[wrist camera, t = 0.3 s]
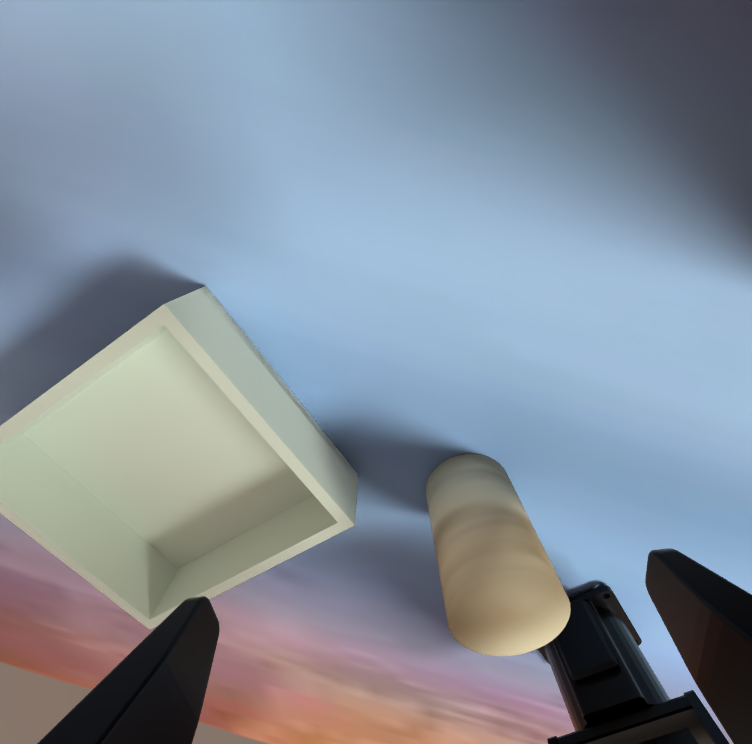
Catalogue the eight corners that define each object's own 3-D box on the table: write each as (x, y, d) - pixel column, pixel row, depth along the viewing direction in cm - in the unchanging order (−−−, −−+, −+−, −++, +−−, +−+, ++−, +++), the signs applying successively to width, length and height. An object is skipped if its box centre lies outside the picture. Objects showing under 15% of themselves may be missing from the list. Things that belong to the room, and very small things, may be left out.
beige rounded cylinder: (523, 498, 24) (589, 628, 16) (450, 533, 25) (482, 670, 17) (485, 439, 22) (539, 553, 15) (410, 478, 23) (425, 603, 16)
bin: (358, 474, 23) (355, 525, 19) (182, 570, 26) (149, 629, 22) (206, 285, 19) (163, 303, 15) (16, 425, 22) (-57, 468, 18)
